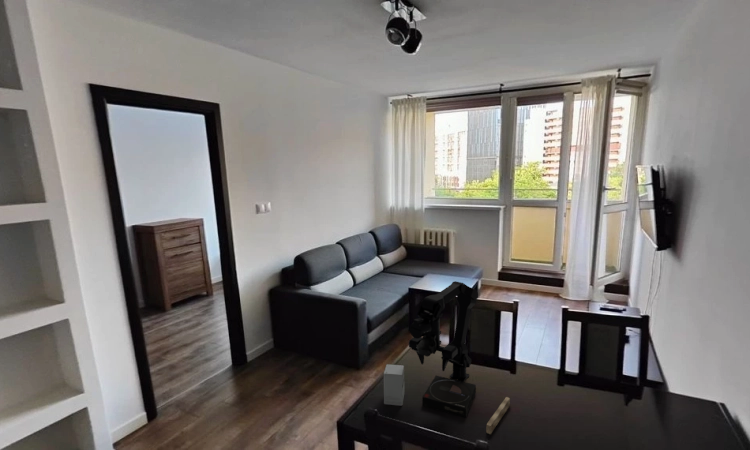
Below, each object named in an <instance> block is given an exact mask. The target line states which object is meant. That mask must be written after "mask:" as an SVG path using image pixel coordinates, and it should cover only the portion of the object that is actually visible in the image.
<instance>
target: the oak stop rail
mask: <svg viewBox="0 0 750 450" xmlns="http://www.w3.org/2000/svg"><path fill="white" fill-rule="evenodd" d="M510 407H511V398H510V397H508V396H506V397H505V398H504V400H503V401H502V402H501V403H500V405H499V406H498V408H497V409H496V411H495V412H493V415H492V416H491V417H490V419H489V420H488V422H487V423H486V427H485V428H486V429H485V430H486V434H489V435H492V433H493V432H494V430H495V428H496V426H497V425H498V424H499V423H500V422H501V420H502V418H503V416H504V415H505V413H506V412H508V410H509V408H510Z"/></svg>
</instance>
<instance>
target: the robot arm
mask: <svg viewBox="0 0 750 450" xmlns="http://www.w3.org/2000/svg"><path fill="white" fill-rule="evenodd" d="M455 297H456V301H457V303H458V304H457V305H458V312H457V318H456V323H455V330H454V334H453V335H454V336H453V339H452V341H451V342H450V343H447V345H446V346H442V345H441V344H442V340H441V334H442V330H441V328H440V323H441V319H440V318H442V317H444V316H443V313H442V312H443V311H444V310H445V306H446V304H448V303H449V302H450V301H452V299H453V300H454V298H455ZM478 297H479V293H478V291H477V288H473V287H470V286H468V285H467V284H466V283H464V282H461V281H457V280H456V281H452V283H451V284H450V285H448V286H447V287H445V288H444V289H442V290H441V291H440V292H438V293H436V294H430V295H428V296H425V297H424V298H423V299H422V300H421V303H420V305H419V308H418V311H417V314H416V316H417V317H418V318H415V319H413V322H412V323H411V324H410V325H409V333H410V335H411V336H412V338H411V339H410V340H409V341H408V348H410V349H411V350H413V351H414V352H416V354H417V357H418V360H419V361H420V362H419V363H420V365H424V362H425V357H430V356H431V355H432V354H433V355H435V354H436V352H440V353H441V357H440V358H441V361H442V362H441V368H442V370H441V371H442V372H444V371H445V370H446V367H447V365H448V363H451V364H452V373H451V374H450V375H449V379H453V380H457V381H462V382H465V381H466V380H467V379H468V378H469V377H470V374H469V373H467V368H470V366H471V365H472V358H470V356H469V355H468V354H469V351H468V350H469V349H468V346H467V344H466V339H467V334H468V327H469V322H470V315H471V310H472V308H473V307H474V306H475V305H476V304H477V300H478Z"/></svg>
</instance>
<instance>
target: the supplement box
mask: <svg viewBox="0 0 750 450" xmlns="http://www.w3.org/2000/svg"><path fill="white" fill-rule="evenodd" d="M404 397H405V365H400V364H399V365H398V364H387V363H386V365H385V368H384V371H383V404H384V405H389V406H391V405H392V406H403V404H404Z"/></svg>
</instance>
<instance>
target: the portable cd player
mask: <svg viewBox="0 0 750 450" xmlns="http://www.w3.org/2000/svg"><path fill="white" fill-rule="evenodd" d="M476 385H477V384H474V383H469V382H465V381H464V382H462V381H459V380H456V379H453V378H450V377H444V376H439V375H435V376H434V378H433V379H432V380H431V382H430V384H429V386H428V387H427V389H426V390H425V392H424V394H423V395H422V399H421V400H422V406H424V407H425V408H426V407H427V408H430V409H434V410H438V411H441V412H445V413H447V414H451V415H455V416H458V417H461V418H467V416H468V414H469V411H470V408H471V407H472V403H473V401H474V398H475V397H476V396H475V395H476V392H477V388H476V387H477V386H476Z"/></svg>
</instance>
